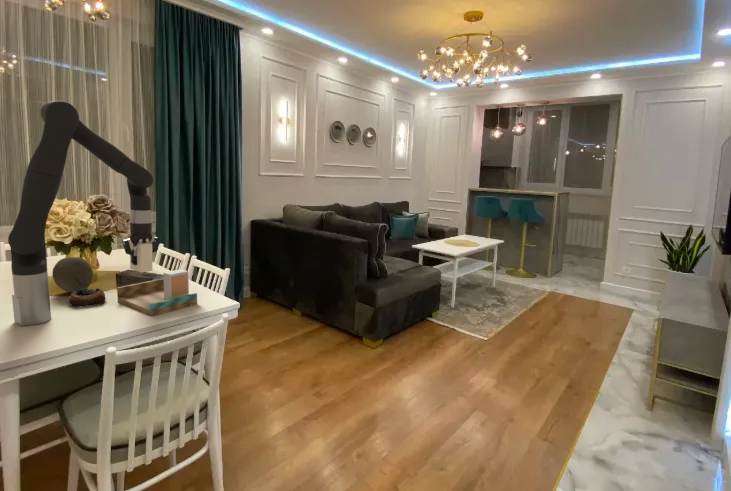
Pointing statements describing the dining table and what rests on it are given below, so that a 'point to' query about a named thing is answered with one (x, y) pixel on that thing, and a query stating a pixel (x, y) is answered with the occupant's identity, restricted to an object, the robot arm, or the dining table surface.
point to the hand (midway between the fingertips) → (141, 263)
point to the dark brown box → (135, 277)
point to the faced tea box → (176, 284)
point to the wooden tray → (152, 298)
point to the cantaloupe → (72, 274)
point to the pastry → (87, 297)
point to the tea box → (143, 258)
